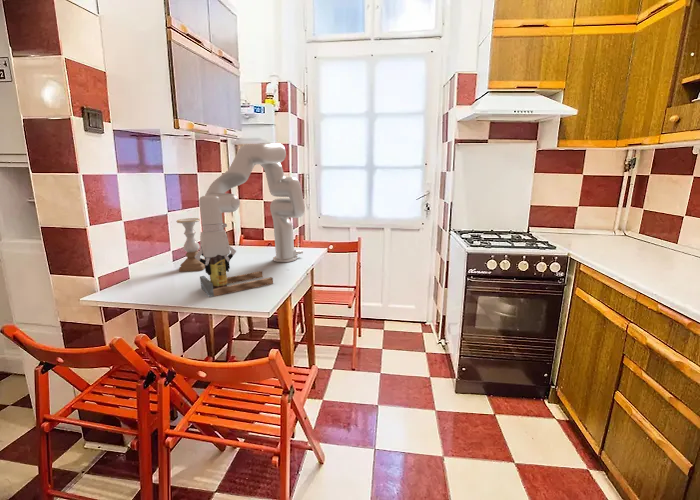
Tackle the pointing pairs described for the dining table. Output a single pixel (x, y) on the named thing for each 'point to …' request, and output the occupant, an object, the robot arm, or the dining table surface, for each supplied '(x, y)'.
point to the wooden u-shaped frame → (211, 292)
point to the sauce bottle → (218, 271)
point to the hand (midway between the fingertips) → (218, 272)
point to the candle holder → (190, 247)
